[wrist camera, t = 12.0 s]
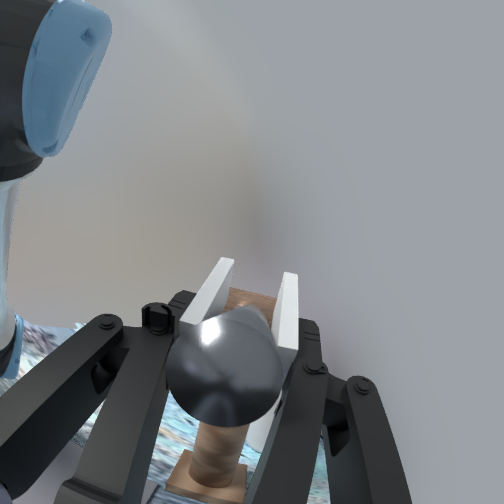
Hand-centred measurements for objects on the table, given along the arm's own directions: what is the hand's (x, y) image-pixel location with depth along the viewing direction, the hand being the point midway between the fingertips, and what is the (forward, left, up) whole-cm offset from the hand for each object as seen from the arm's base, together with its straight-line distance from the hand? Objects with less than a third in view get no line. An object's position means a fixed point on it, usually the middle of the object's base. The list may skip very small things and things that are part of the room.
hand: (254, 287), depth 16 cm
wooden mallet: (0, +3, -4) cm, 5 cm away
